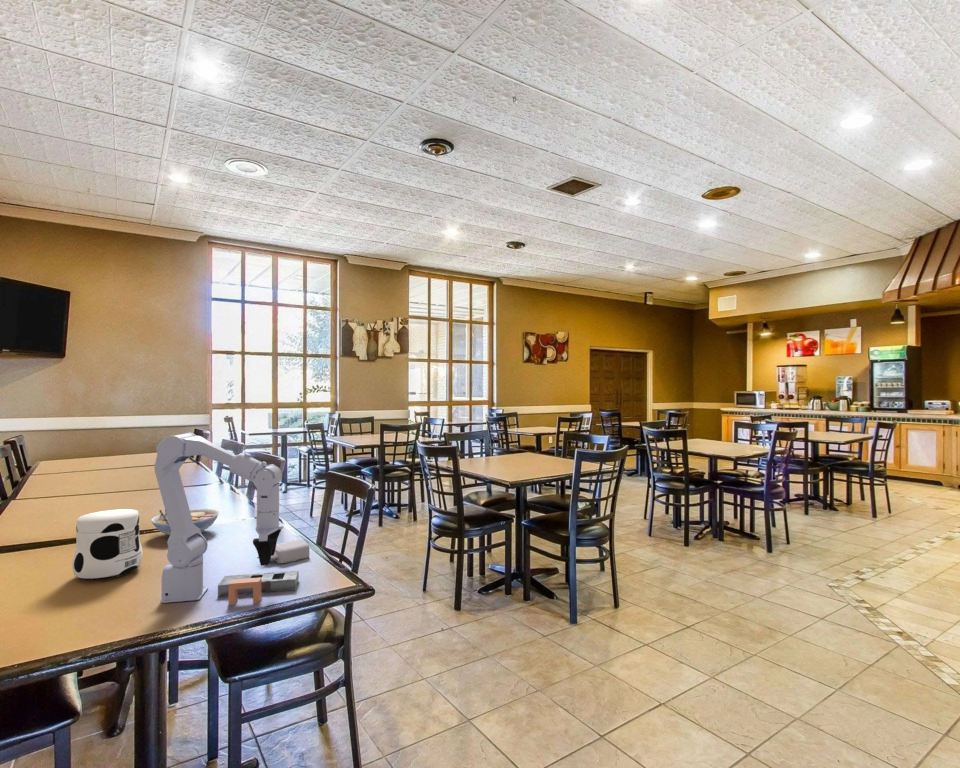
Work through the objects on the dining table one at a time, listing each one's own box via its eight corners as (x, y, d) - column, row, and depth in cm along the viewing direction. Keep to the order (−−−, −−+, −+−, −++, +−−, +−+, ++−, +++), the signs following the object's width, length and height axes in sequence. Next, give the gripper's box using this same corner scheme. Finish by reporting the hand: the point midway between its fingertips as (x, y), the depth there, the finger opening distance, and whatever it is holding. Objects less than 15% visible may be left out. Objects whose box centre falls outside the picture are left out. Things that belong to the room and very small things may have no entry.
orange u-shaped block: (228, 604, 135) (228, 583, 135) (231, 600, 138) (231, 579, 138) (259, 602, 137) (259, 581, 137) (261, 597, 140) (261, 577, 140)
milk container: (82, 569, 162) (82, 511, 162) (147, 561, 168) (147, 506, 168) (63, 589, 146) (63, 525, 146) (136, 580, 153) (136, 518, 153)
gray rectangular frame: (217, 596, 141) (217, 585, 141) (224, 586, 147) (224, 576, 147) (295, 590, 145) (295, 579, 145) (298, 580, 152) (298, 570, 152)
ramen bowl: (224, 537, 194) (224, 516, 194) (152, 548, 181) (152, 525, 181) (214, 523, 215) (214, 503, 215) (149, 532, 202) (149, 511, 202)
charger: (252, 562, 168) (297, 552, 178) (263, 569, 161) (309, 558, 172) (252, 547, 168) (297, 538, 178) (263, 554, 161) (309, 544, 172)
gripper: (279, 516, 135) (279, 568, 135) (287, 503, 149) (286, 550, 149) (250, 517, 134) (250, 570, 134) (260, 504, 148) (260, 552, 148)
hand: (267, 560), depth 141 cm, fingers open, 7 cm apart
